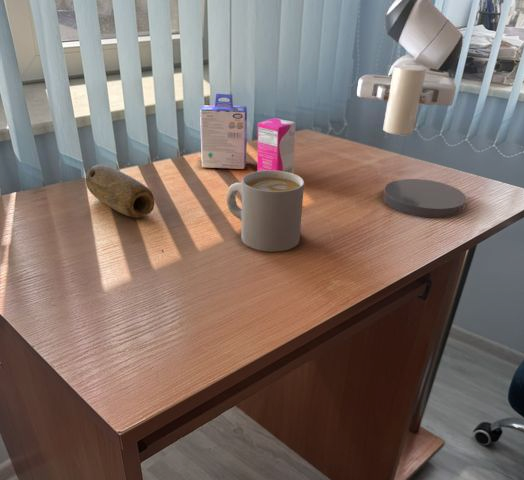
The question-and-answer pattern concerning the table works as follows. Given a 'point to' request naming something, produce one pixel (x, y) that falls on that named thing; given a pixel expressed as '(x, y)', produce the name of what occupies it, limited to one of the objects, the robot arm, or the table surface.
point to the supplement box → (276, 145)
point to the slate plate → (424, 198)
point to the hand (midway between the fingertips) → (404, 97)
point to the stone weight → (119, 191)
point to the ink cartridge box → (223, 134)
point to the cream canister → (404, 99)
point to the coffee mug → (269, 209)
